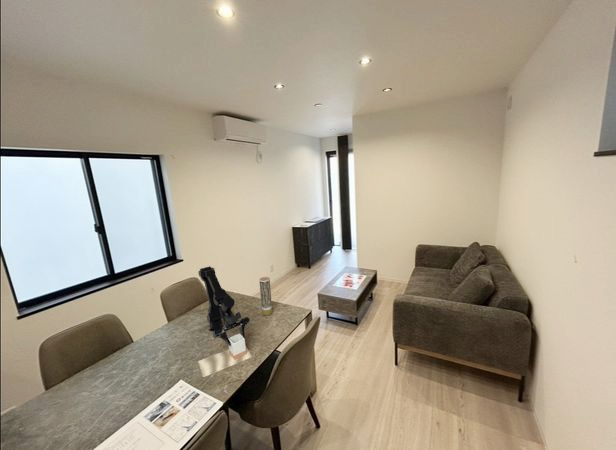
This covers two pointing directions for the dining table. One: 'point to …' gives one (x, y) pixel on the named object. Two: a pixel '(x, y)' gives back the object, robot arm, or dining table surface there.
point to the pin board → (220, 362)
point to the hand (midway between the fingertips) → (237, 342)
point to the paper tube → (265, 295)
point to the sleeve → (237, 346)
